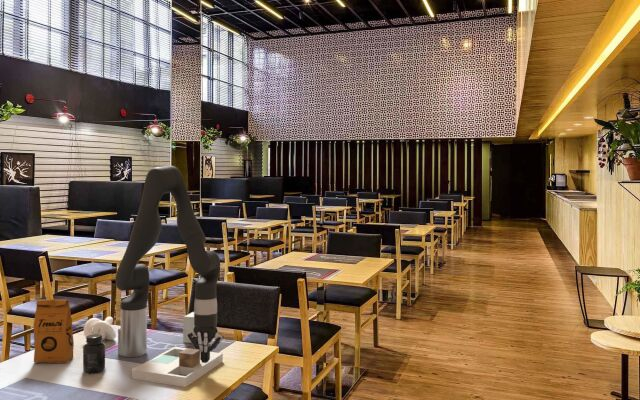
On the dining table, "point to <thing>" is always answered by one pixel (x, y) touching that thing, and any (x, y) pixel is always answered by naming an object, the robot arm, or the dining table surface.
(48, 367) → the dining table surface
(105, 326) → the white lumpy figure
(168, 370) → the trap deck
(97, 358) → the supplement bottle
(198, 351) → the walnut block
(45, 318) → the coffee package
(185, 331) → the small box
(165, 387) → the dining table surface
